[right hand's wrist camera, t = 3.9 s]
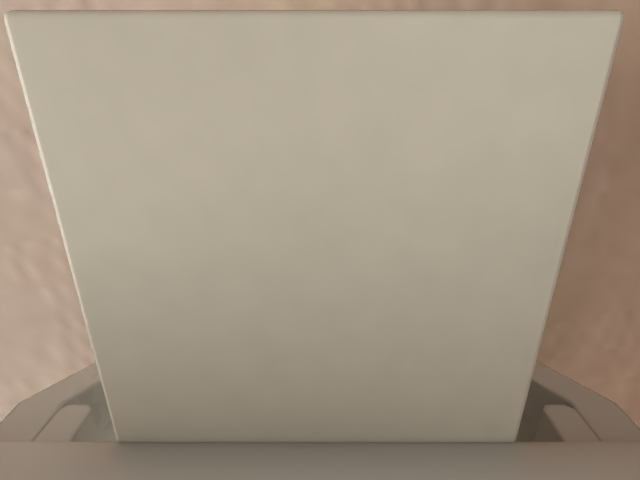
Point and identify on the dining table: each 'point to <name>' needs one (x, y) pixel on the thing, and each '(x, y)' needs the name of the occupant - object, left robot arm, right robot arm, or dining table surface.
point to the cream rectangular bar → (315, 210)
